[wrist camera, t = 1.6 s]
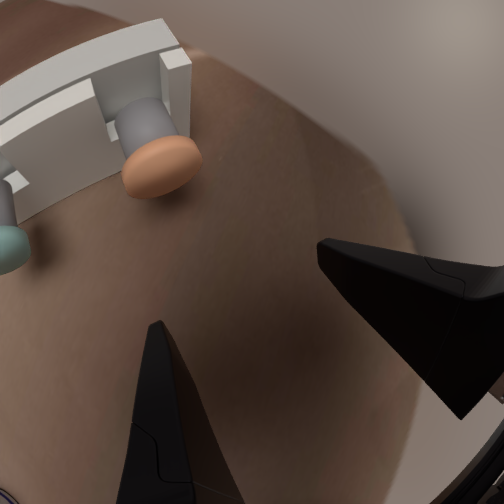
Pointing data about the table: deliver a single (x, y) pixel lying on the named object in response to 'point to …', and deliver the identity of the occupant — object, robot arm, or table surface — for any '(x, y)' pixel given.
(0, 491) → the energy drink
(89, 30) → the table surface
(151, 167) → the terracotta button
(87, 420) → the table surface
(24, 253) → the teal button
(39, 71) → the button panel
